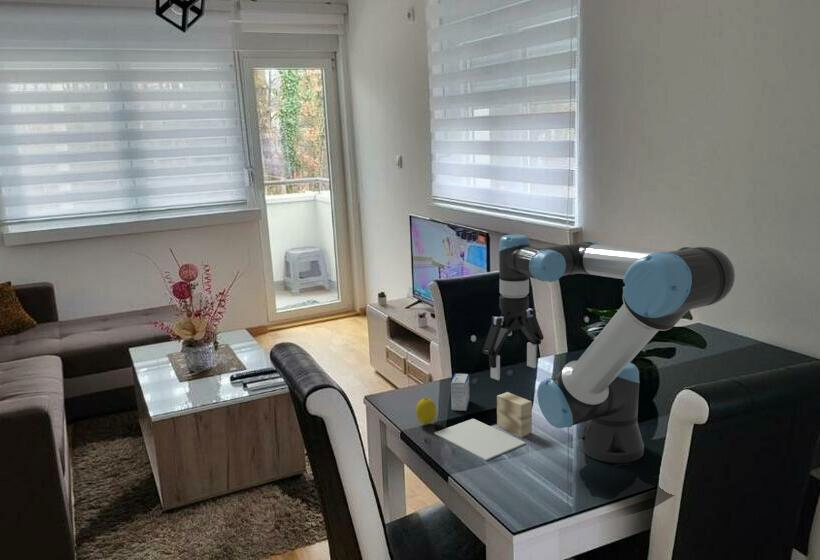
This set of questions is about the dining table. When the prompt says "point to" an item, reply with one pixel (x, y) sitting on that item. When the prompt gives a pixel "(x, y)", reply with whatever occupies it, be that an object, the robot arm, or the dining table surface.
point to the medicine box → (460, 392)
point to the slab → (514, 414)
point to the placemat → (479, 439)
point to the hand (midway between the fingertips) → (513, 372)
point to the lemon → (426, 411)
